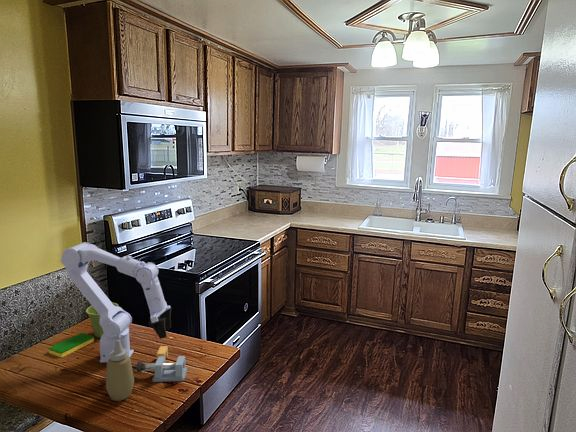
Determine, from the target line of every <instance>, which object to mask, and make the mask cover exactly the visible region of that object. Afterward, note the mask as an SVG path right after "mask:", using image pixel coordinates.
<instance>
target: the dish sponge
mask: <svg viewBox="0 0 576 432" xmlns="http://www.w3.org/2000/svg"><path fill="white" fill-rule="evenodd" d="M94 341H95V335H94V336H93V335H90V334H87V333H84V332H81V333H78V334H77V335H76V334H75V335H74V336H72V337H69V338H67V339H65V340H63V341H60V342H58V343H57V344H54V345H52V346H50V347H48V354H50V355H51V356H52V355H53V356H56V357H58V358H64V357H66V356H68V355H69V354H72V353H74V352H75V351H78V350H80V349H82V348H83V347H85V346H88V345H90V344H91V343H94Z"/></svg>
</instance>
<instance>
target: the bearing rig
mask: <svg viewBox="0 0 576 432" xmlns="http://www.w3.org/2000/svg"><path fill="white" fill-rule="evenodd" d="M154 363H155V370H154V374H153V376H152V382H153V383H155V382H156V383H158V382H184V381H185V378H186V375H187V373H188V367H187V366H186V356H185V355H178V356H177V360H176V362H175V363H176V364H175V370H163V363H167V362H166V358H165V356H159V357H158V359H157V358H156V361H155V362H154Z"/></svg>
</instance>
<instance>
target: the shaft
mask: <svg viewBox="0 0 576 432" xmlns="http://www.w3.org/2000/svg"><path fill="white" fill-rule="evenodd" d="M155 363H156V362H154V363H153V362H151V363H149V362H148V363H144V362H143V361H137V363H136V369H135V370H136V373H142V372H143V371H155ZM175 364H176V362H166V363H163V370H175Z"/></svg>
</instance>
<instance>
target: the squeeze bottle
mask: <svg viewBox="0 0 576 432" xmlns="http://www.w3.org/2000/svg"><path fill="white" fill-rule="evenodd" d="M105 376H106V378H105V389H106V392H107V394H108V396H109V397H110V399H111V400H112V401H113V402H115V401H116V402H120V401H123V400H124V401H125V400H126V399H128V398H129V397H130V396H131V395H132V392H133V387H134V384H135V377H134V371H133V365H132V361H131V356H130V357H129V356H127V351H126V350H125V349H122V346H121V342H120V340H117V341H116V342H115V348H114V350H113V351H112V352H111V353H110V359H109V360H108V362H106V375H105Z"/></svg>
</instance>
